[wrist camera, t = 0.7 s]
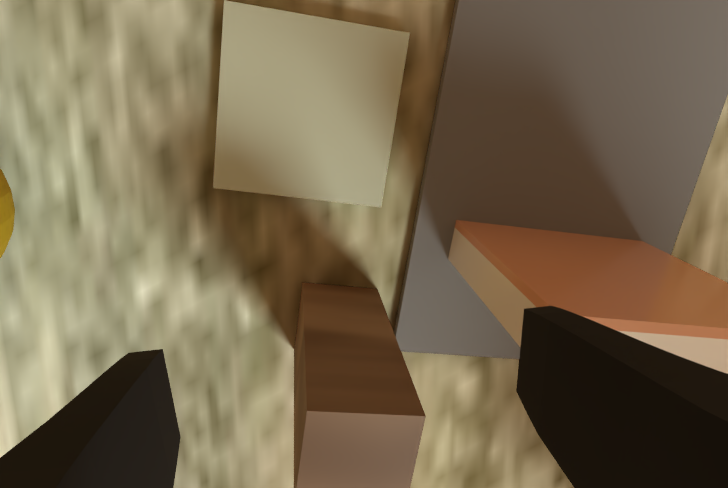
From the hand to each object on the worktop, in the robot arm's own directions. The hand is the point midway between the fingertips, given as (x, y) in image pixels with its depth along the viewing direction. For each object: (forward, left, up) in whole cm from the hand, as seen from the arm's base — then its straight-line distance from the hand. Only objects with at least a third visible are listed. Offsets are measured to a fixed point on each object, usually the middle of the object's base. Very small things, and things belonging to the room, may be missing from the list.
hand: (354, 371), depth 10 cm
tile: (0, -9, -9) cm, 13 cm away
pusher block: (-4, -1, -10) cm, 10 cm away
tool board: (+4, +1, -10) cm, 11 cm away
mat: (+3, -9, -10) cm, 13 cm away
